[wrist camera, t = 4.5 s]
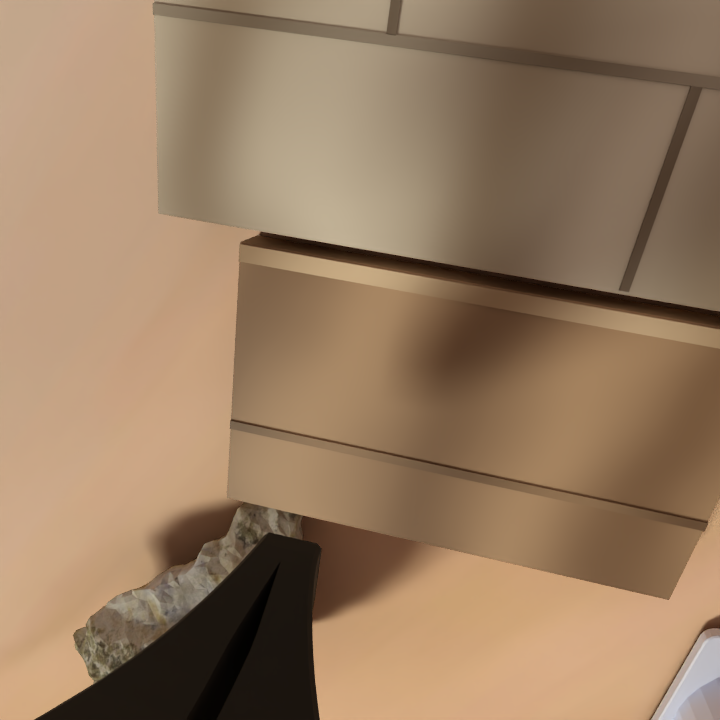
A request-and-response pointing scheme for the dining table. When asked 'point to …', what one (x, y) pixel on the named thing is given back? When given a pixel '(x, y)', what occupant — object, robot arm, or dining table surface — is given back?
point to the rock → (174, 591)
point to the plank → (476, 412)
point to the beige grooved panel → (455, 132)
